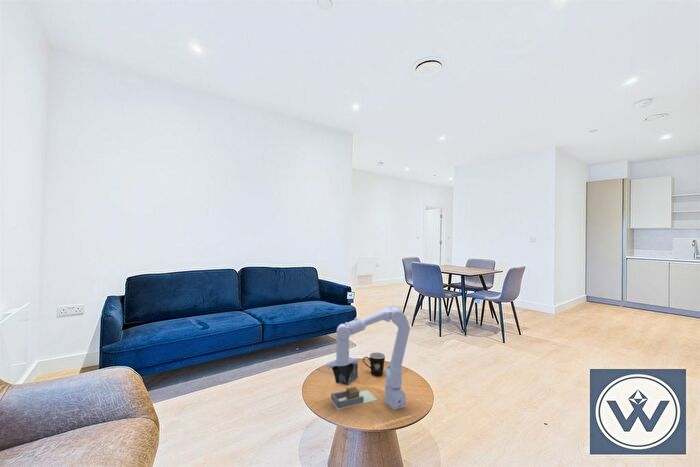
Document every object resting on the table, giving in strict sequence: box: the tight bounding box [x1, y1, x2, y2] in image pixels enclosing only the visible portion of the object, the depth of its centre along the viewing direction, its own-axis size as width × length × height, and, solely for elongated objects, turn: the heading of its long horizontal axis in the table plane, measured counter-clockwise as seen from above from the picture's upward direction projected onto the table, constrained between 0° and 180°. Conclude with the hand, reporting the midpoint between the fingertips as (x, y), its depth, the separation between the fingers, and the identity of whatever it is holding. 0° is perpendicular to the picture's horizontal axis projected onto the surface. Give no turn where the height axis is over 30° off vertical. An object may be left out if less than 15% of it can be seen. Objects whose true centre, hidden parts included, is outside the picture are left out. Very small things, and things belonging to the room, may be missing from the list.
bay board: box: [329, 389, 378, 410], centre depth 138 cm, size 9×20×4 cm, turn 116°
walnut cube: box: [345, 386, 360, 399], centre depth 138 cm, size 4×4×4 cm
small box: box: [338, 363, 359, 386], centre depth 157 cm, size 11×6×10 cm, turn 149°
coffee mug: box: [362, 352, 386, 377], centre depth 167 cm, size 12×9×10 cm
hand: (342, 381), depth 136 cm, fingers open, 4 cm apart
